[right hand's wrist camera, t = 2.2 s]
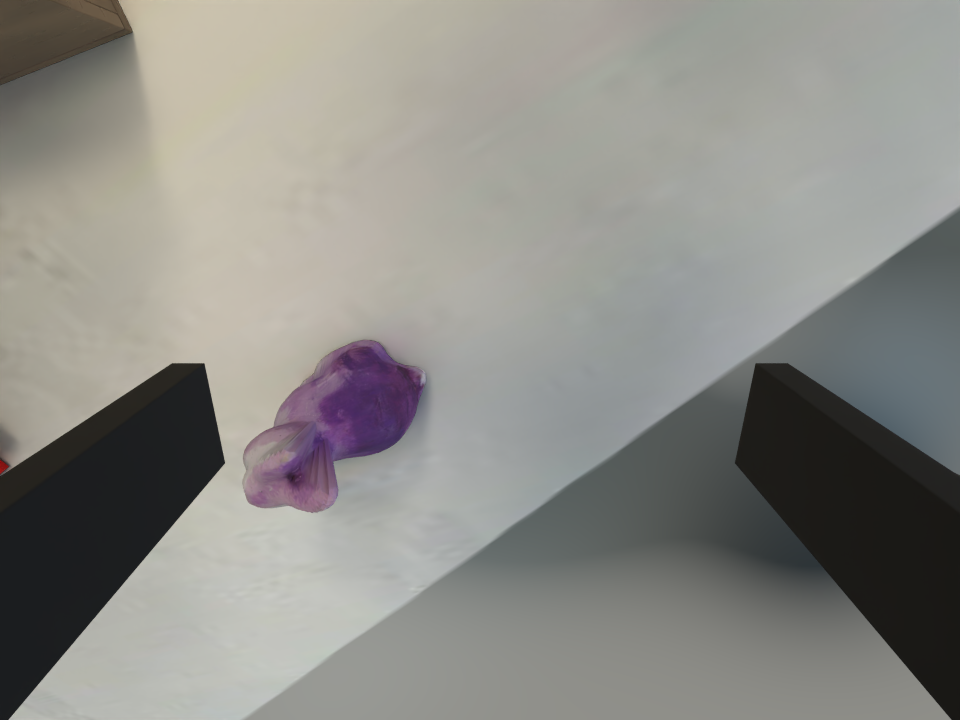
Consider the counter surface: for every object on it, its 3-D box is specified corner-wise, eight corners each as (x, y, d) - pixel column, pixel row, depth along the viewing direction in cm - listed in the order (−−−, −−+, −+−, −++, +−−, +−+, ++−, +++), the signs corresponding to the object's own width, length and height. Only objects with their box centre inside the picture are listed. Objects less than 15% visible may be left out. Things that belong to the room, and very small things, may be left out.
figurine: (282, 421, 43) (187, 546, 29) (322, 315, 40) (238, 397, 26) (387, 463, 44) (345, 601, 30) (435, 363, 41) (412, 467, 27)
